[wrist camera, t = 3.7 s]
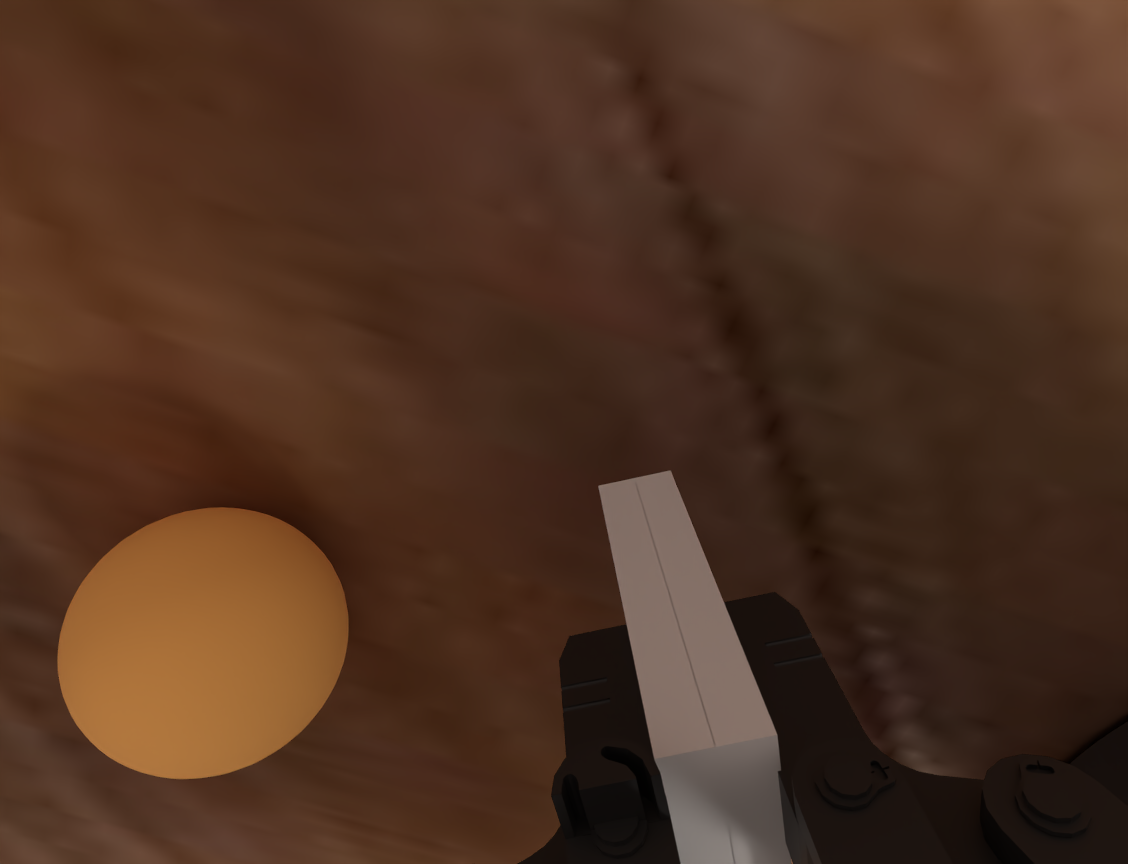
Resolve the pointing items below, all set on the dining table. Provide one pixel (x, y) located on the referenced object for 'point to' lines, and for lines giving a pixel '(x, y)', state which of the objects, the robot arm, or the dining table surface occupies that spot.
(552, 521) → the dining table surface
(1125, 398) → the dining table surface
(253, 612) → the ball
